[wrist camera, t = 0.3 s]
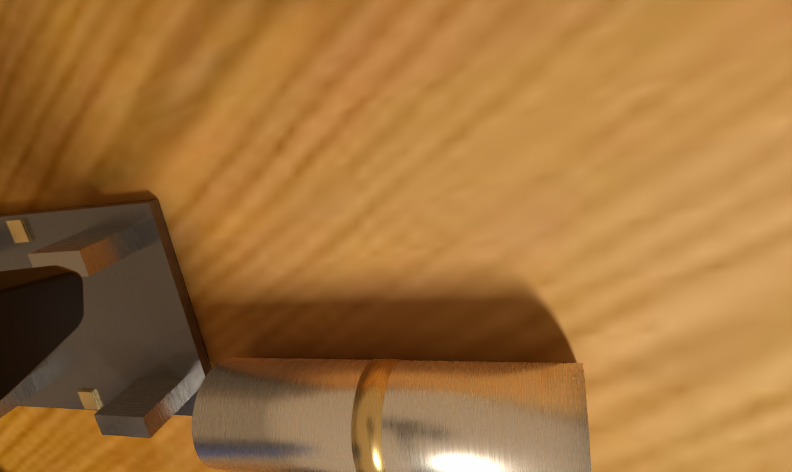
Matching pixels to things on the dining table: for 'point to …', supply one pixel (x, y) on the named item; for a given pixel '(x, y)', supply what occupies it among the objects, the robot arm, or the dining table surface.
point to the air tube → (392, 416)
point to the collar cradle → (112, 316)
